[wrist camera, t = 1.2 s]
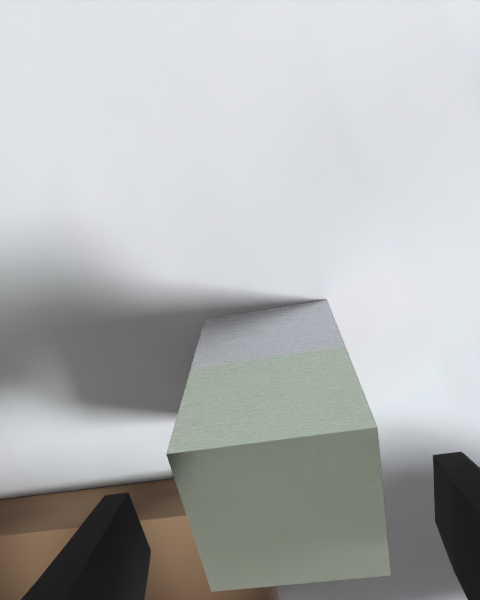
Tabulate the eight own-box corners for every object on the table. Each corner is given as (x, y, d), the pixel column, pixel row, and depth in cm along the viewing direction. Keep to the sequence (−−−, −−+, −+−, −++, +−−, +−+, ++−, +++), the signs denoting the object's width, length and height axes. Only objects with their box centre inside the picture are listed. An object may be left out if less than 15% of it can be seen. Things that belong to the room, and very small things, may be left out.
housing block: (326, 299, 15) (377, 427, 9) (340, 403, 17) (391, 575, 10) (204, 319, 16) (166, 454, 9) (229, 418, 17) (211, 591, 11)
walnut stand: (247, 470, 18) (246, 509, 16) (289, 643, 23) (292, 689, 21) (-9, 501, 20) (-37, 540, 18) (77, 659, 24) (62, 703, 22)
